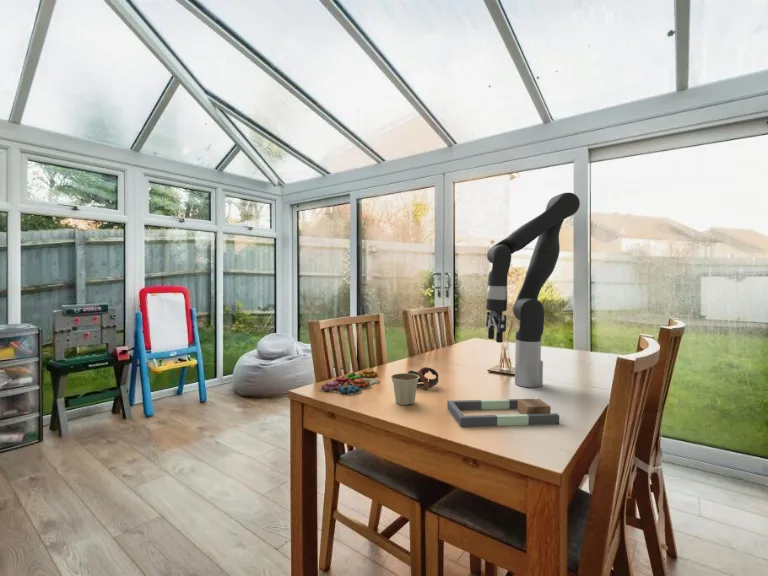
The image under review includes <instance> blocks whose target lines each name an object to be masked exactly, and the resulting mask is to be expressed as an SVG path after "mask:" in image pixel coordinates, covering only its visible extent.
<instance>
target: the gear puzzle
mask: <svg viewBox="0 0 768 576" xmlns="http://www.w3.org/2000/svg"><path fill="white" fill-rule="evenodd" d="M378 375H379V373H378V371H374V369H364V370H362V372H358V374H356V373H355V372H350V373H348V374H345V375H342V376H338V377H336V379H333V380H332V381H327V382H325V383H324V384H321V388H318V391H319V392H328V393H331V394H337V395H342V394H345V393H347V394H346V396H350V395H353V396H355V395H360V394H363V392H362V391H364V390H365V391H366V389H367V390H370V389H372V386H373V385H375V384H376V385H379V384H380V380H379V379H376V378H375V377H376V376H378Z"/></svg>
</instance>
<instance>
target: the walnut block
mask: <svg viewBox="0 0 768 576" xmlns="http://www.w3.org/2000/svg"><path fill="white" fill-rule="evenodd" d="M517 399H518V404H517V409H516V410H517V411H518V412H517V413H519V414H552V413H551V409H552V408H551V405H549V404H547V402H545V401H543V400H542V399H540V398H517Z"/></svg>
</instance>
